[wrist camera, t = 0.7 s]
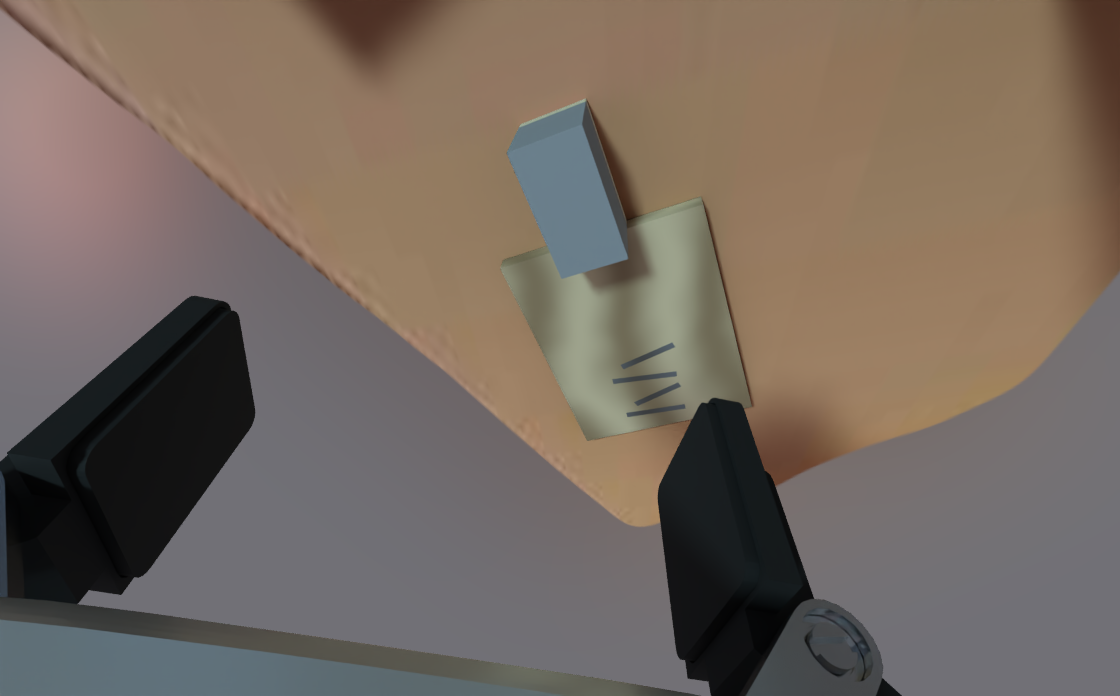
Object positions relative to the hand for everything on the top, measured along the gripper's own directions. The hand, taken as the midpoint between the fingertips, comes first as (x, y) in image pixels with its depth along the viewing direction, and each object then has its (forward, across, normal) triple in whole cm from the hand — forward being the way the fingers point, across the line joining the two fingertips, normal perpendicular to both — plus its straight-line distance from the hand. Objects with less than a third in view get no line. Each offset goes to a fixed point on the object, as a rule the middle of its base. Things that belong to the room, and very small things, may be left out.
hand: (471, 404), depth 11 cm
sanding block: (+26, -2, +3) cm, 26 cm away
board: (+26, -10, +14) cm, 31 cm away
